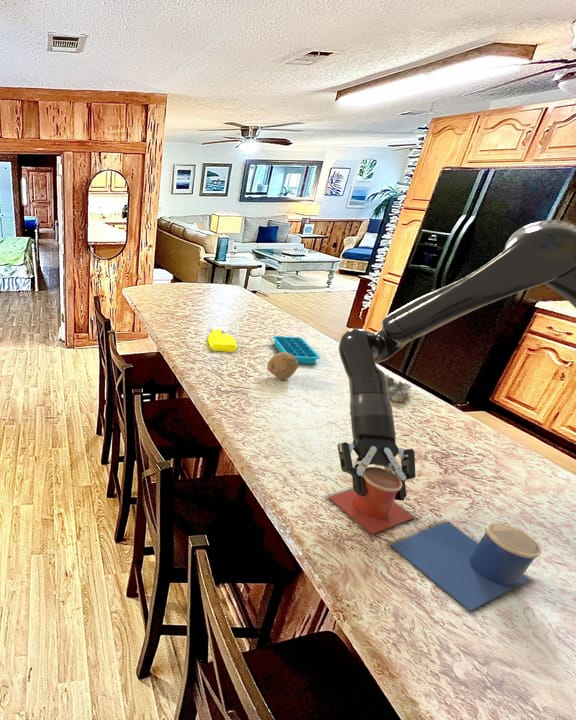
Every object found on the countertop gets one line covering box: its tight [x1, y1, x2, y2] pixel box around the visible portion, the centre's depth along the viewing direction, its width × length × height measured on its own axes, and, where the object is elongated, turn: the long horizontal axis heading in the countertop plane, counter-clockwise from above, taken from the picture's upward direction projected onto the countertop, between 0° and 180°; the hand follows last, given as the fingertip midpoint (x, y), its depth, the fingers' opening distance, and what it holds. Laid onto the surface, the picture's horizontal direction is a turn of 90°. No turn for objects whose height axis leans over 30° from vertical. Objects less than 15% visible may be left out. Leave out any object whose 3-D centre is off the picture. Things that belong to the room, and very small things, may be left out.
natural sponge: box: [267, 352, 299, 381], centre depth 131 cm, size 9×9×10 cm
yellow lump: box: [207, 326, 238, 353], centre depth 163 cm, size 3×11×24 cm
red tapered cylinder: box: [353, 466, 402, 518], centre depth 80 cm, size 7×7×8 cm
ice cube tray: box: [272, 335, 321, 365], centre depth 151 cm, size 12×20×3 cm, turn 173°
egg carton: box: [385, 374, 412, 403], centre depth 123 cm, size 11×8×4 cm
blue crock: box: [469, 522, 543, 586], centre depth 67 cm, size 7×7×8 cm
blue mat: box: [390, 521, 530, 612], centre depth 70 cm, size 16×13×1 cm
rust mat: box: [328, 489, 415, 535], centre depth 81 cm, size 12×10×1 cm
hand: (380, 497), depth 78 cm, fingers closed on red tapered cylinder, 6 cm apart
